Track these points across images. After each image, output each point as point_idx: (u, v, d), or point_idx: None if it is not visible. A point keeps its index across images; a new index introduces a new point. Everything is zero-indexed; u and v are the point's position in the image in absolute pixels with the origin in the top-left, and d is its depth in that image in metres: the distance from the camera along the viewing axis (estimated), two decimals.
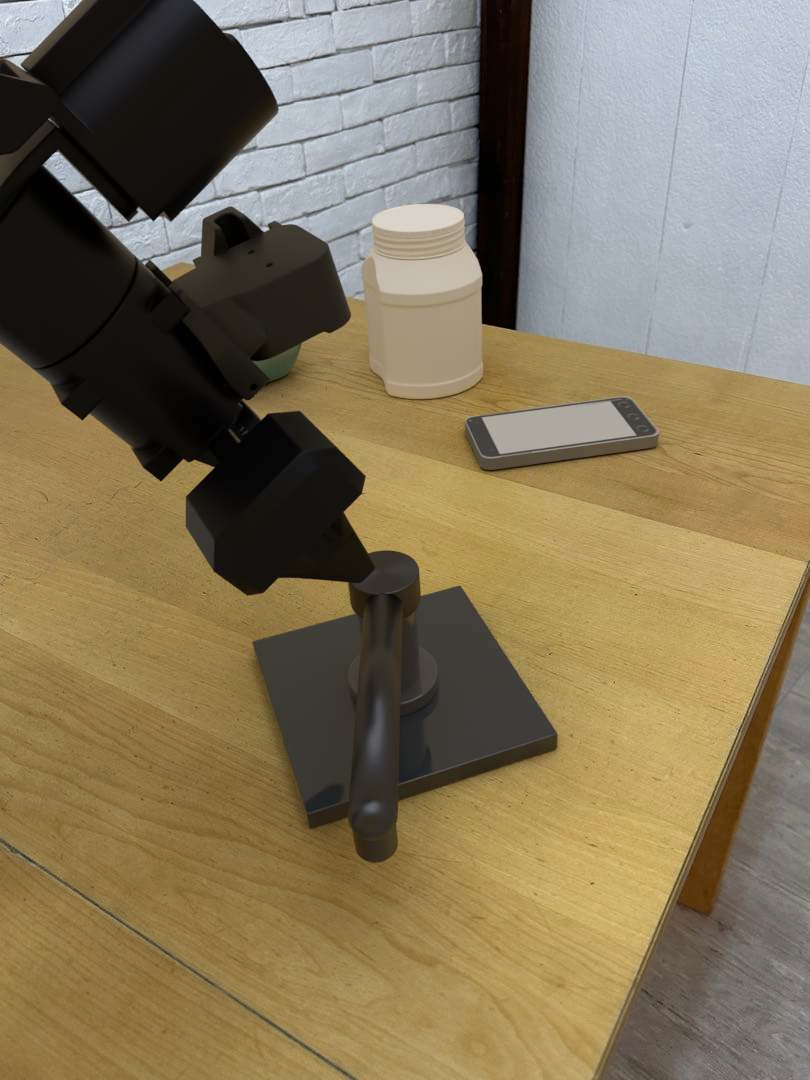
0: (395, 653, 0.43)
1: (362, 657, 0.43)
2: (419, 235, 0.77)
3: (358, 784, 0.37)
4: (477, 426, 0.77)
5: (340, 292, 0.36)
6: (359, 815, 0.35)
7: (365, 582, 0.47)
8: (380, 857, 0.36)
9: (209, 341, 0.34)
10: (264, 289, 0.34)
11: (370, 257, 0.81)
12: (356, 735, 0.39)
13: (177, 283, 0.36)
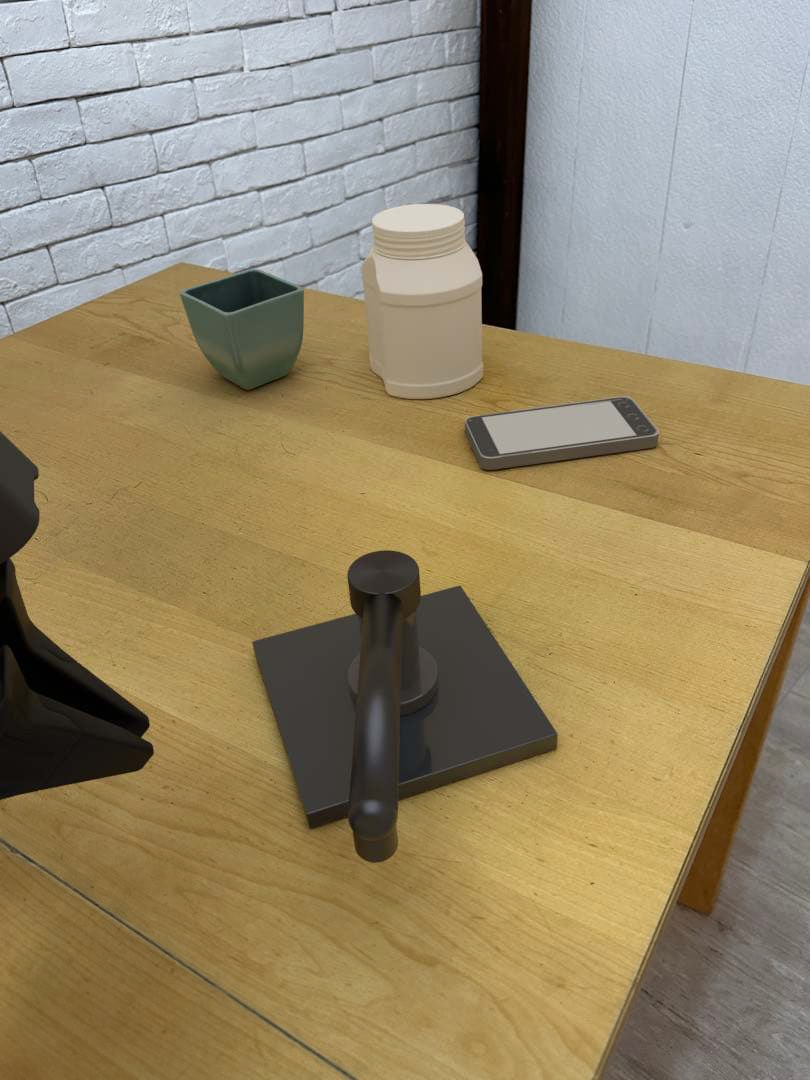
0: (395, 653, 0.43)
1: (362, 657, 0.43)
2: (419, 235, 0.77)
3: (358, 784, 0.37)
4: (477, 426, 0.77)
5: None
6: (359, 815, 0.35)
7: (365, 582, 0.47)
8: (380, 857, 0.36)
9: None
10: None
11: (370, 257, 0.81)
12: (356, 735, 0.39)
13: None
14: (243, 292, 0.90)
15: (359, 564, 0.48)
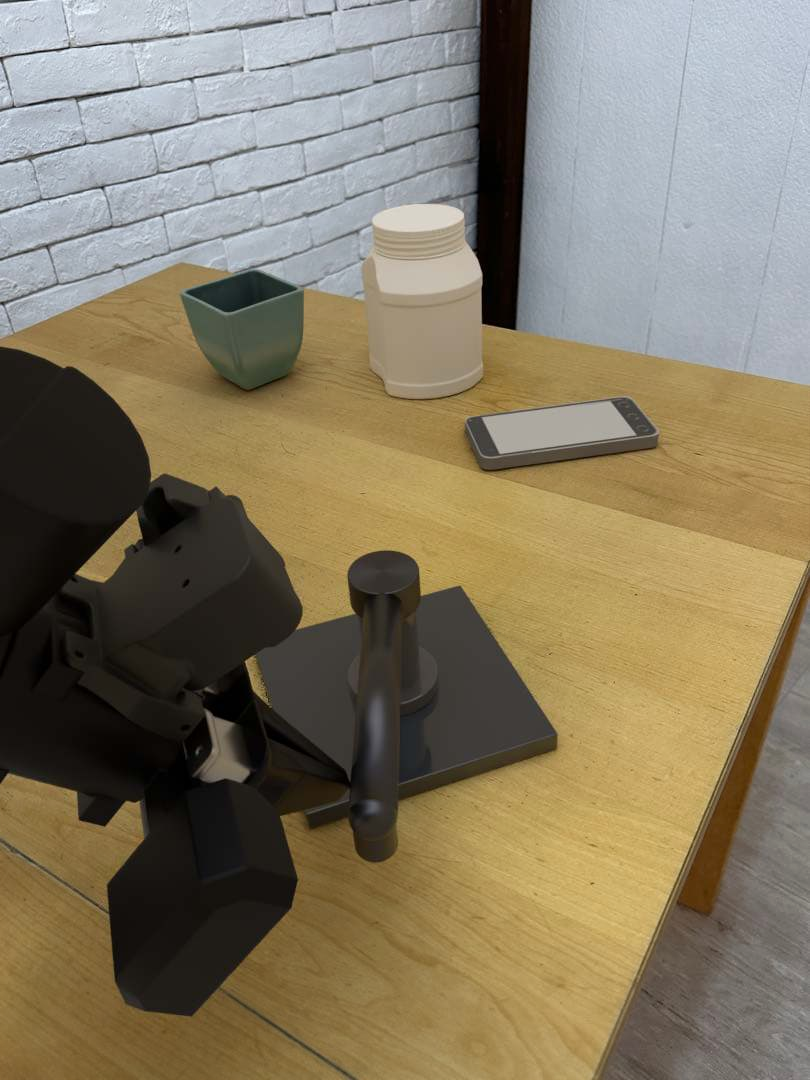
0: (395, 653, 0.43)
1: (362, 657, 0.43)
2: (419, 235, 0.77)
3: (358, 784, 0.37)
4: (477, 426, 0.77)
5: (278, 601, 0.29)
6: (359, 815, 0.35)
7: (365, 582, 0.47)
8: (381, 857, 0.36)
9: (115, 699, 0.28)
10: (172, 629, 0.28)
11: (370, 257, 0.81)
12: (356, 735, 0.39)
13: (98, 596, 0.31)
14: (243, 292, 0.90)
15: (359, 564, 0.48)
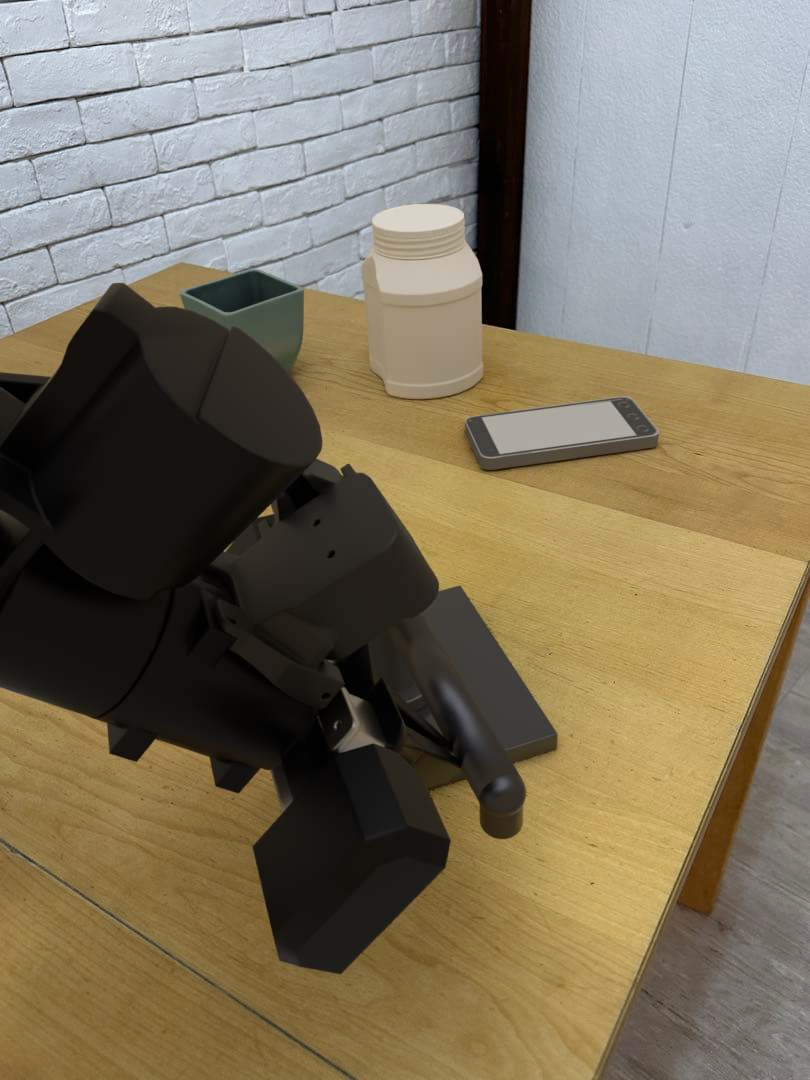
0: (438, 642, 0.43)
1: (409, 654, 0.43)
2: (419, 235, 0.77)
3: (479, 767, 0.37)
4: (477, 426, 0.77)
5: (420, 572, 0.30)
6: (496, 794, 0.36)
7: None
8: (515, 831, 0.37)
9: (264, 665, 0.29)
10: (322, 597, 0.28)
11: (370, 257, 0.81)
12: (447, 725, 0.39)
13: (237, 568, 0.31)
14: (243, 292, 0.90)
15: None
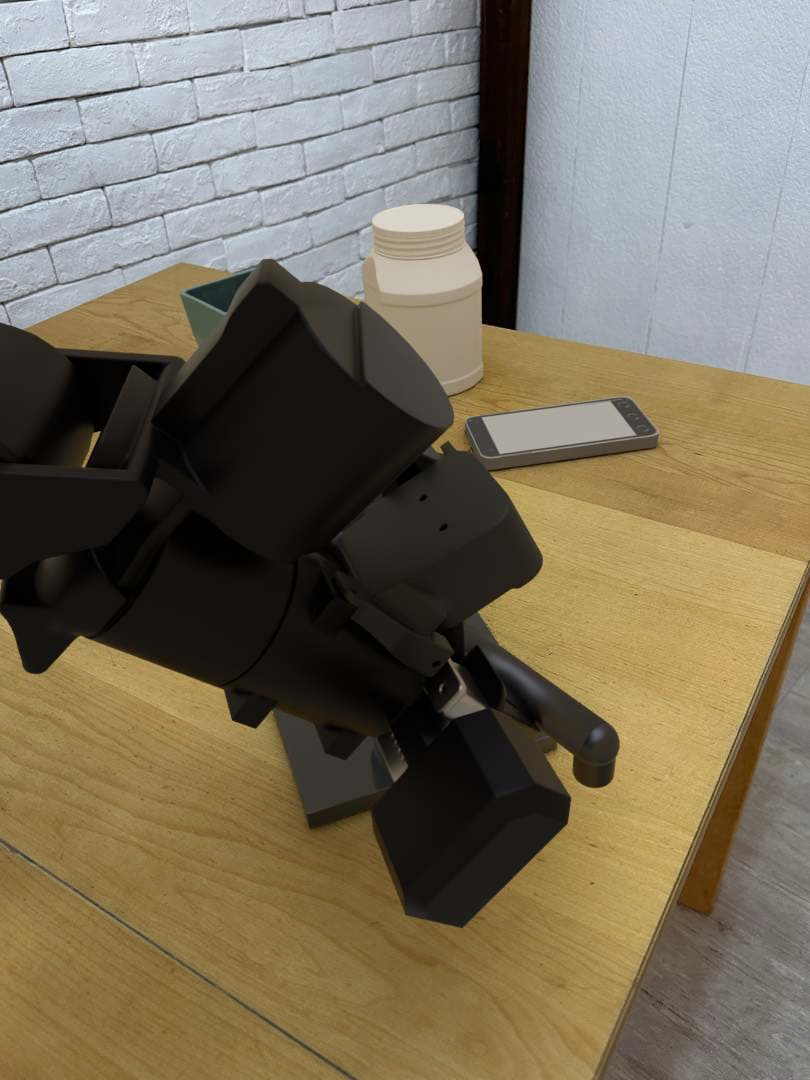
0: (470, 624, 0.44)
1: None
2: (419, 235, 0.77)
3: (572, 724, 0.38)
4: (477, 426, 0.77)
5: (528, 544, 0.31)
6: (599, 744, 0.38)
7: None
8: (612, 776, 0.39)
9: (382, 634, 0.30)
10: (439, 568, 0.30)
11: (370, 257, 0.81)
12: (519, 696, 0.40)
13: (344, 542, 0.33)
14: None
15: None
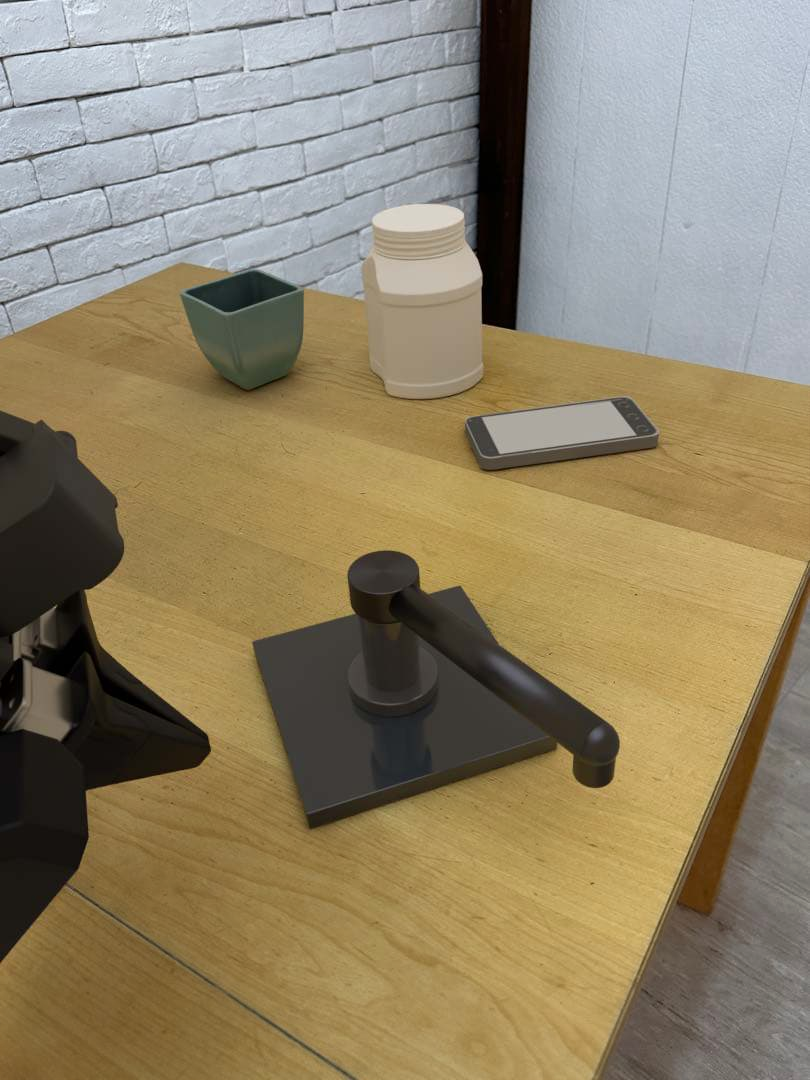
0: (470, 624, 0.44)
1: (448, 641, 0.43)
2: (419, 235, 0.77)
3: (572, 724, 0.38)
4: (477, 426, 0.77)
5: (90, 538, 0.26)
6: (599, 743, 0.38)
7: (380, 586, 0.47)
8: (612, 776, 0.39)
9: None
10: None
11: (370, 257, 0.81)
12: (519, 696, 0.40)
13: None
14: (243, 292, 0.90)
15: (355, 576, 0.47)
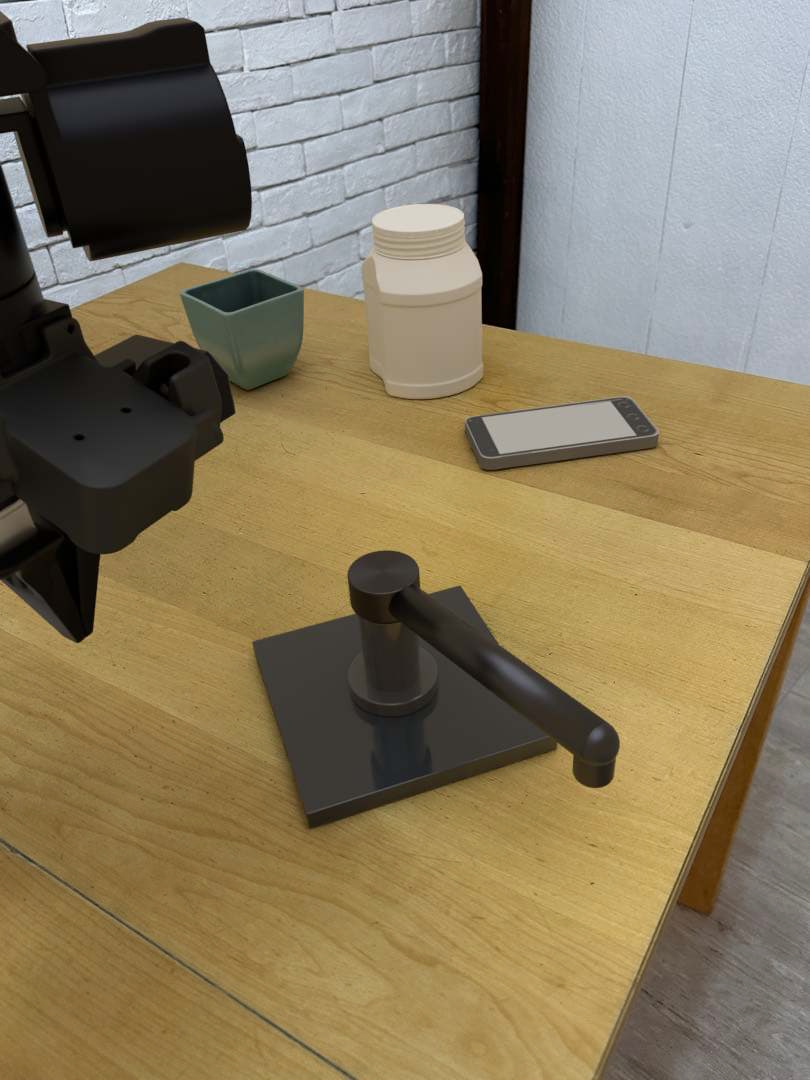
0: (470, 624, 0.44)
1: (448, 641, 0.43)
2: (419, 235, 0.77)
3: (572, 724, 0.38)
4: (477, 426, 0.77)
5: (101, 528, 0.29)
6: (599, 743, 0.38)
7: (380, 586, 0.47)
8: (612, 776, 0.39)
9: None
10: (23, 448, 0.28)
11: (370, 257, 0.81)
12: (519, 696, 0.40)
13: (65, 358, 0.31)
14: (243, 292, 0.90)
15: (355, 576, 0.47)
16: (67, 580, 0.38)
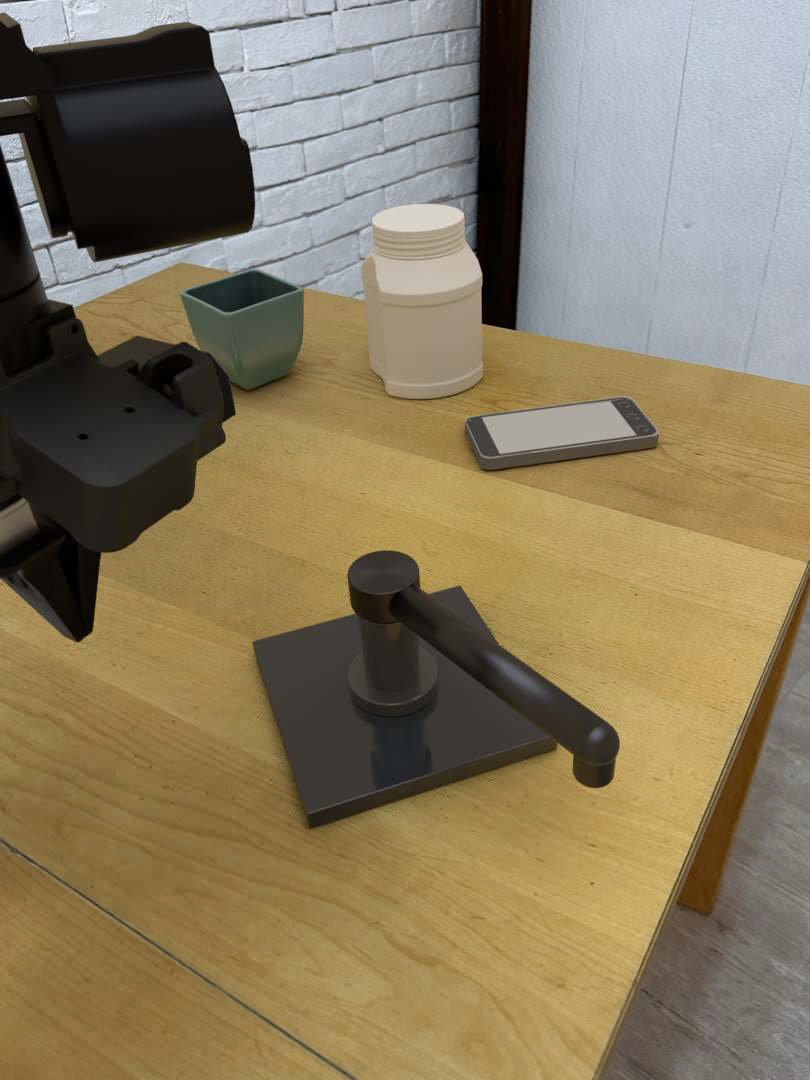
0: (470, 624, 0.44)
1: (448, 641, 0.43)
2: (419, 235, 0.77)
3: (572, 724, 0.38)
4: (477, 426, 0.77)
5: (104, 527, 0.29)
6: (599, 743, 0.38)
7: (380, 586, 0.47)
8: (612, 776, 0.39)
9: None
10: (28, 446, 0.28)
11: (370, 257, 0.81)
12: (519, 696, 0.40)
13: (68, 358, 0.31)
14: (243, 292, 0.90)
15: (355, 576, 0.47)
16: (68, 579, 0.38)
